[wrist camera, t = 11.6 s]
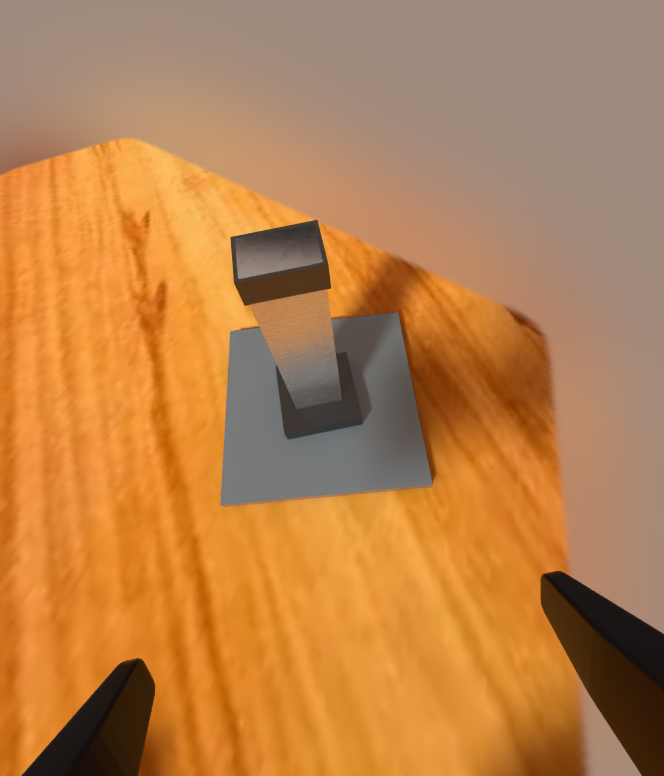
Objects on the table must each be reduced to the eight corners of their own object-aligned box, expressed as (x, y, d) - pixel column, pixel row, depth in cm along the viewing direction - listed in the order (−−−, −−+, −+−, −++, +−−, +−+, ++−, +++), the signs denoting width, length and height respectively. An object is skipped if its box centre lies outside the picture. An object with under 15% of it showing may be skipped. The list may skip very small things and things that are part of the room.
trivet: (430, 486, 22) (432, 484, 21) (225, 506, 22) (220, 504, 22) (397, 318, 28) (397, 311, 27) (234, 336, 28) (230, 331, 27)
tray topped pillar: (362, 424, 23) (360, 289, 12) (287, 439, 23) (211, 319, 12) (347, 360, 25) (333, 192, 14) (279, 374, 25) (207, 217, 14)
